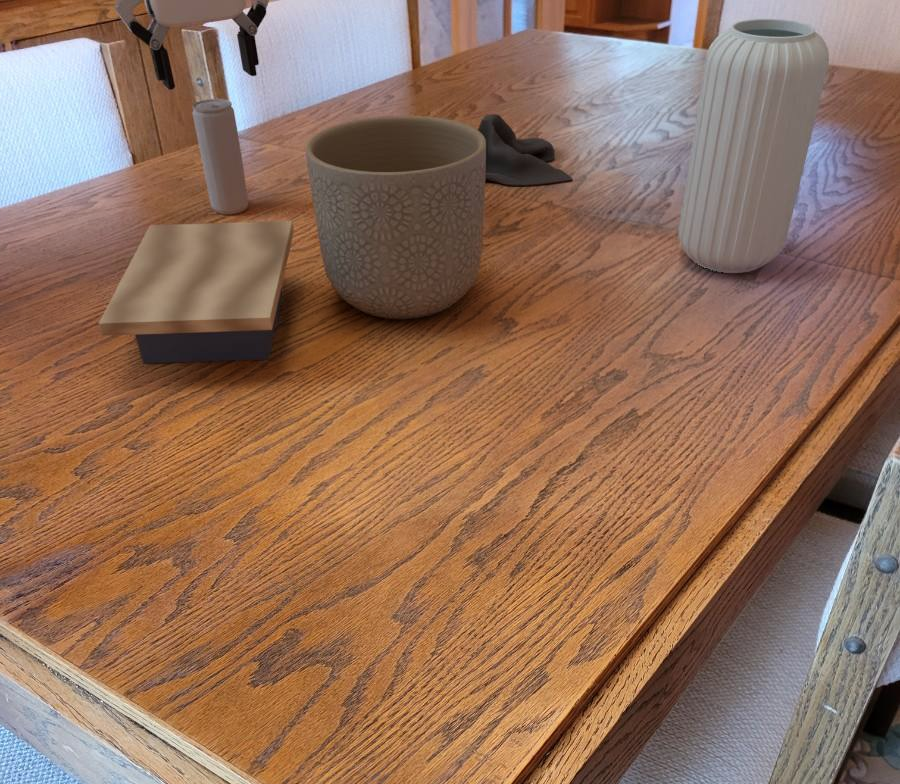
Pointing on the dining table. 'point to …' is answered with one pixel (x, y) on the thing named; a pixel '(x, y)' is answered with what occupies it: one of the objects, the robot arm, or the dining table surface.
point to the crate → (207, 345)
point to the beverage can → (221, 155)
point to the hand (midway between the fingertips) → (210, 79)
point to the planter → (399, 211)
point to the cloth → (517, 156)
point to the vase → (751, 142)
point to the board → (202, 279)
